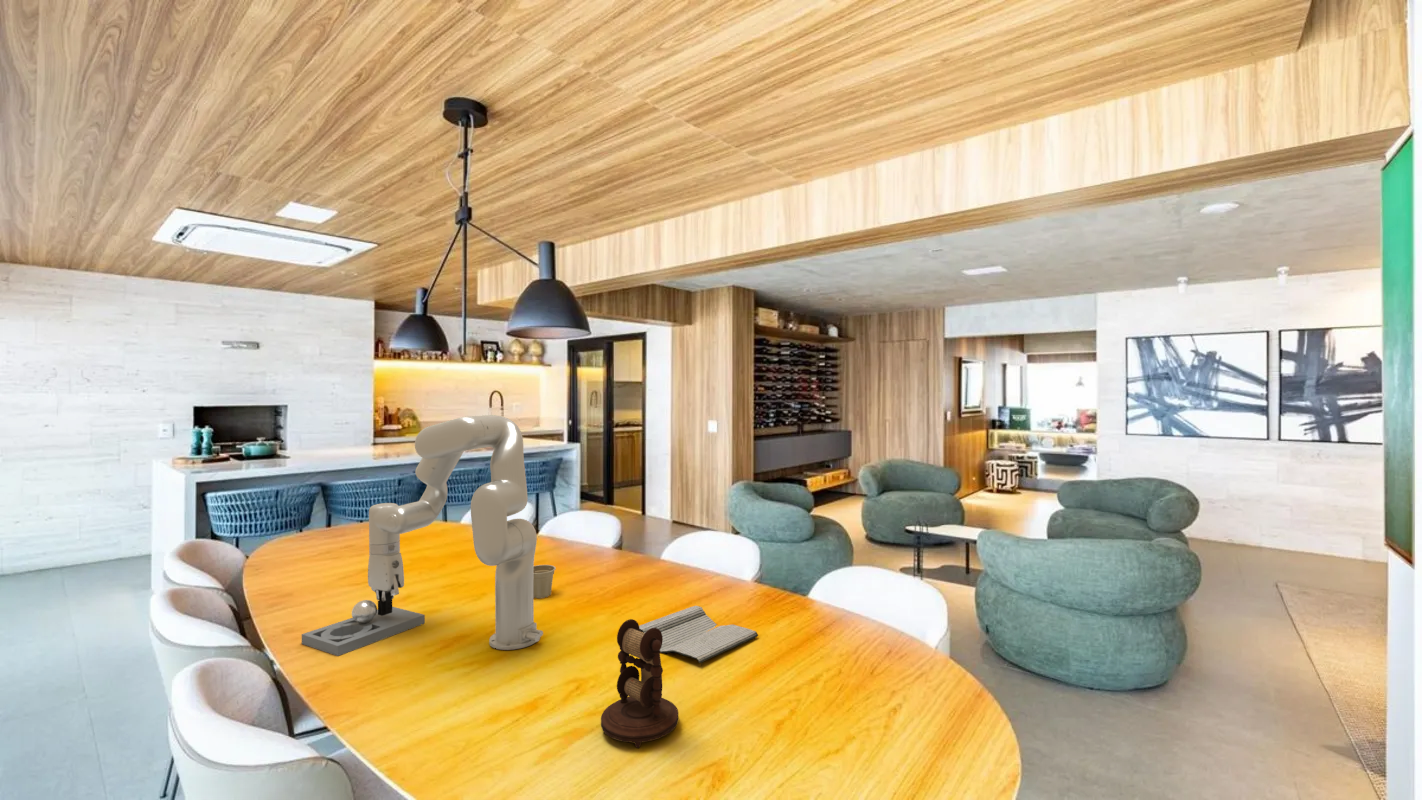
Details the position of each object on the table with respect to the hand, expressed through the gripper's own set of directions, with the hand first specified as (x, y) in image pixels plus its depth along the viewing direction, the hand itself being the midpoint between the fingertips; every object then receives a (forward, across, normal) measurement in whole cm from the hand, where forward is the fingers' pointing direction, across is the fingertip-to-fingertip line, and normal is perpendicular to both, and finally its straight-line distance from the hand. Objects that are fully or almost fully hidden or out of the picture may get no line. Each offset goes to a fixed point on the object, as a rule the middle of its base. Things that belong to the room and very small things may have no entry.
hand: (385, 613), depth 167 cm
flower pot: (+4, -20, -40) cm, 44 cm away
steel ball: (-2, +1, +5) cm, 6 cm away
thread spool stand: (+4, -93, +9) cm, 94 cm away
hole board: (+4, 0, +6) cm, 7 cm away
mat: (+4, -82, -32) cm, 88 cm away
